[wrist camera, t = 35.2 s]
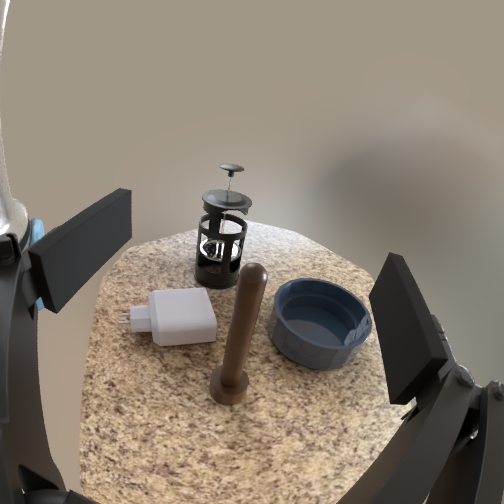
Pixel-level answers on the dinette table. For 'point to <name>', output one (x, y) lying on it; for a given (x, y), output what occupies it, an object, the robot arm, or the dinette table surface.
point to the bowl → (318, 323)
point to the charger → (175, 317)
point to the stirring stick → (239, 336)
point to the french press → (221, 235)
